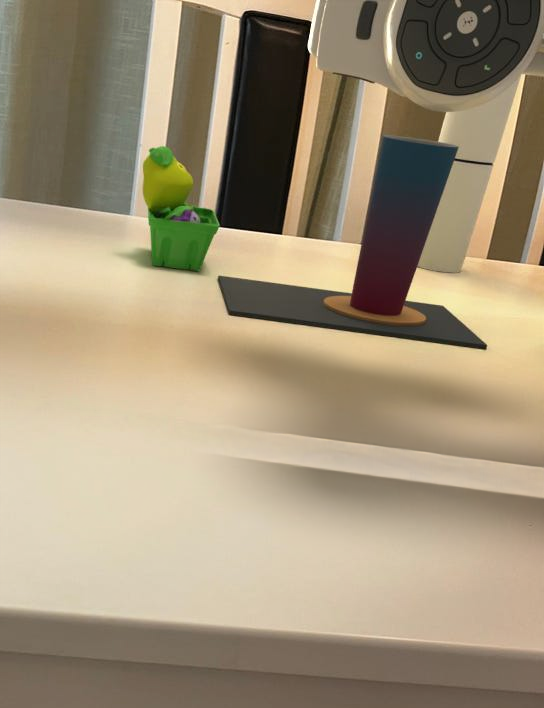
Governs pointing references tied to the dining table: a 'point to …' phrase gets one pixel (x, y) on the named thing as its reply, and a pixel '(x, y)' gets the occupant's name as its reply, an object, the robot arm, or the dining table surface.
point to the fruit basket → (175, 214)
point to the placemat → (342, 312)
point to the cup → (399, 220)
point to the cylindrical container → (465, 179)
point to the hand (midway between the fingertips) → (450, 37)
